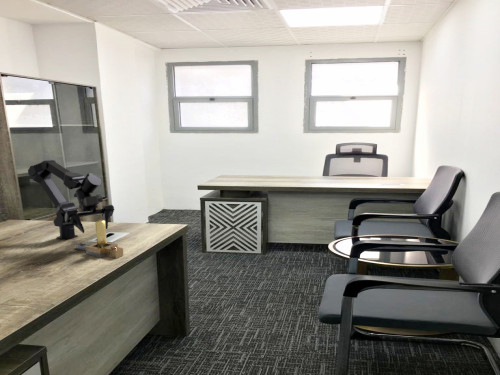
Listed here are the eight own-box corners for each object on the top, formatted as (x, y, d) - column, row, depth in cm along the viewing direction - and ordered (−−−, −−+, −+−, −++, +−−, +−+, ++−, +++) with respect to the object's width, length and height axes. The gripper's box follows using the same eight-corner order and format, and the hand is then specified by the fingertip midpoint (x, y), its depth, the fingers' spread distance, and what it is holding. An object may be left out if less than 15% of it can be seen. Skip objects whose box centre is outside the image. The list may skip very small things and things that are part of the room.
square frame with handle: (70, 249, 152) (70, 241, 151) (88, 244, 159) (88, 236, 158) (110, 260, 140) (110, 251, 139) (128, 253, 147) (127, 245, 147)
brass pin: (95, 253, 148) (93, 221, 146) (103, 250, 151) (101, 219, 149) (101, 254, 146) (99, 222, 144) (109, 252, 149) (107, 220, 147)
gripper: (64, 190, 147) (74, 223, 140) (111, 186, 159) (122, 216, 152) (60, 206, 154) (70, 238, 148) (106, 201, 166) (116, 230, 160)
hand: (95, 230), depth 152 cm, fingers open, 9 cm apart
